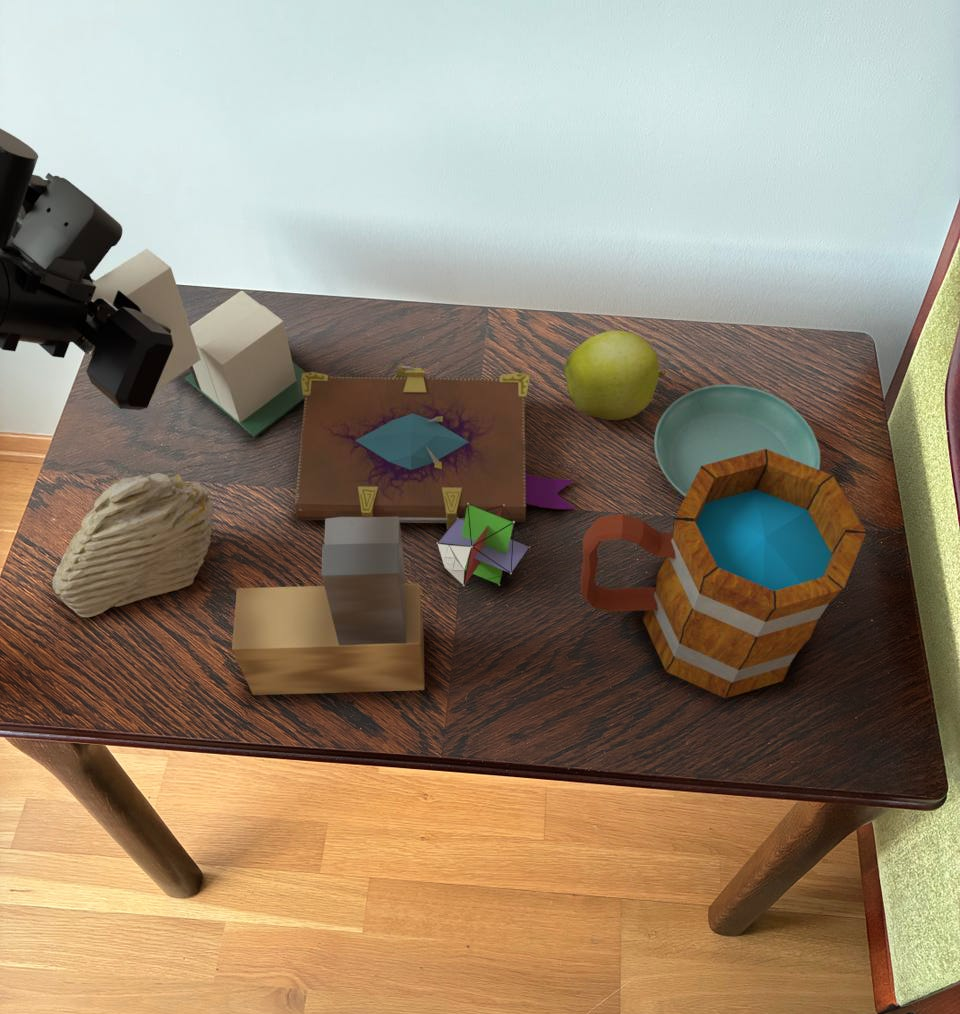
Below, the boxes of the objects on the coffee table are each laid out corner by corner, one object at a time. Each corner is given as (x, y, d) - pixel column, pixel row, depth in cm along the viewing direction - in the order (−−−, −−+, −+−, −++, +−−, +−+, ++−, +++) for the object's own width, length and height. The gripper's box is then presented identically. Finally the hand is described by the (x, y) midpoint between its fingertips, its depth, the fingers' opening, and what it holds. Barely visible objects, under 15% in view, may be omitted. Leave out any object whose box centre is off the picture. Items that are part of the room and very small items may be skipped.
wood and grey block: (252, 695, 82) (199, 580, 66) (257, 637, 84) (206, 512, 68) (424, 690, 82) (414, 574, 66) (423, 633, 85) (413, 507, 68)
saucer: (828, 529, 90) (837, 512, 87) (662, 537, 89) (667, 521, 87) (793, 398, 96) (801, 379, 94) (639, 405, 96) (643, 386, 94)
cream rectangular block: (135, 405, 84) (96, 315, 76) (112, 386, 85) (72, 294, 77) (201, 359, 87) (171, 267, 78) (178, 341, 88) (146, 247, 79)
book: (575, 537, 90) (580, 508, 85) (295, 534, 90) (285, 504, 85) (569, 387, 97) (574, 352, 92) (309, 384, 97) (301, 349, 92)
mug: (799, 561, 88) (858, 455, 75) (809, 704, 82) (876, 616, 69) (572, 545, 89) (591, 436, 75) (565, 685, 83) (584, 594, 69)
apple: (668, 428, 95) (684, 369, 88) (573, 446, 94) (582, 387, 87) (642, 366, 98) (656, 303, 91) (551, 382, 97) (558, 320, 90)
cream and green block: (254, 438, 94) (237, 378, 87) (185, 379, 97) (162, 317, 90) (322, 386, 96) (310, 325, 89) (252, 331, 100) (236, 268, 92)
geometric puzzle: (474, 490, 89) (448, 488, 81) (546, 519, 87) (526, 519, 80) (445, 567, 90) (417, 572, 82) (516, 596, 89) (494, 604, 81)
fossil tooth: (62, 581, 88) (223, 510, 90) (80, 638, 85) (247, 564, 87) (-7, 505, 78) (177, 427, 80) (11, 567, 75) (201, 485, 77)
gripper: (109, 250, 63) (273, 292, 77) (-62, 112, 69) (119, 174, 82) (49, 406, 67) (215, 420, 81) (-107, 264, 73) (72, 299, 87)
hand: (155, 324), depth 82 cm, fingers closed on cream rectangular block, 3 cm apart
